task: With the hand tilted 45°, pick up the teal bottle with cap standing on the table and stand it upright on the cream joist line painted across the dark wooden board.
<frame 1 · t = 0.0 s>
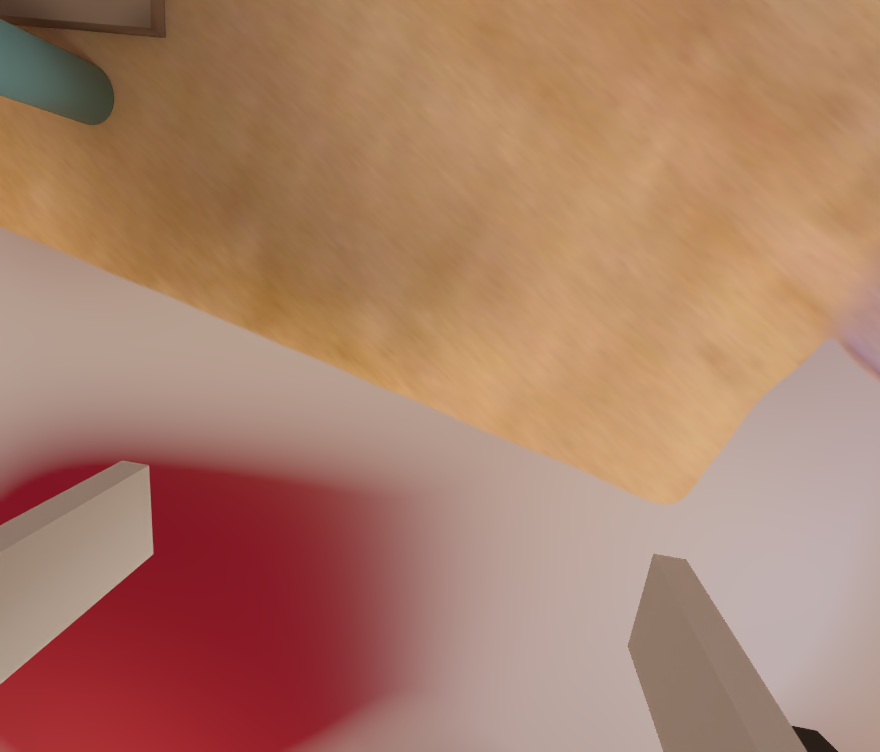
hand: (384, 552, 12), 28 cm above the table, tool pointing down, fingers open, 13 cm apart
teal bottle with cap: (87, 93, 37), on the table
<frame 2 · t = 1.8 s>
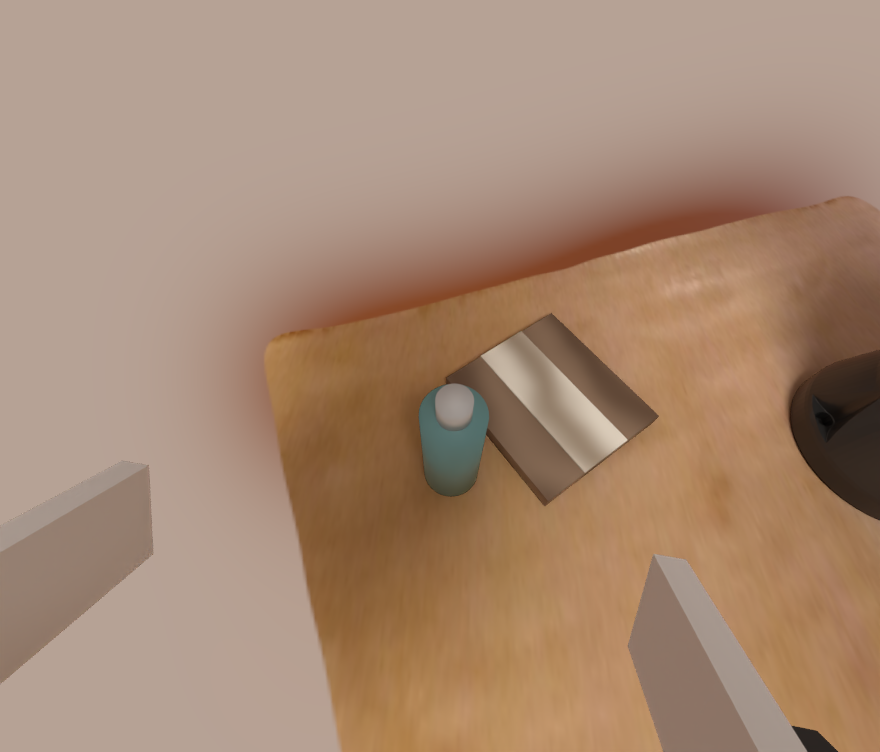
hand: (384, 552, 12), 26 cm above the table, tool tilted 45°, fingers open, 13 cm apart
subfloor board: (546, 403, 42), on the table
teal bottle with cap: (450, 469, 39), on the table
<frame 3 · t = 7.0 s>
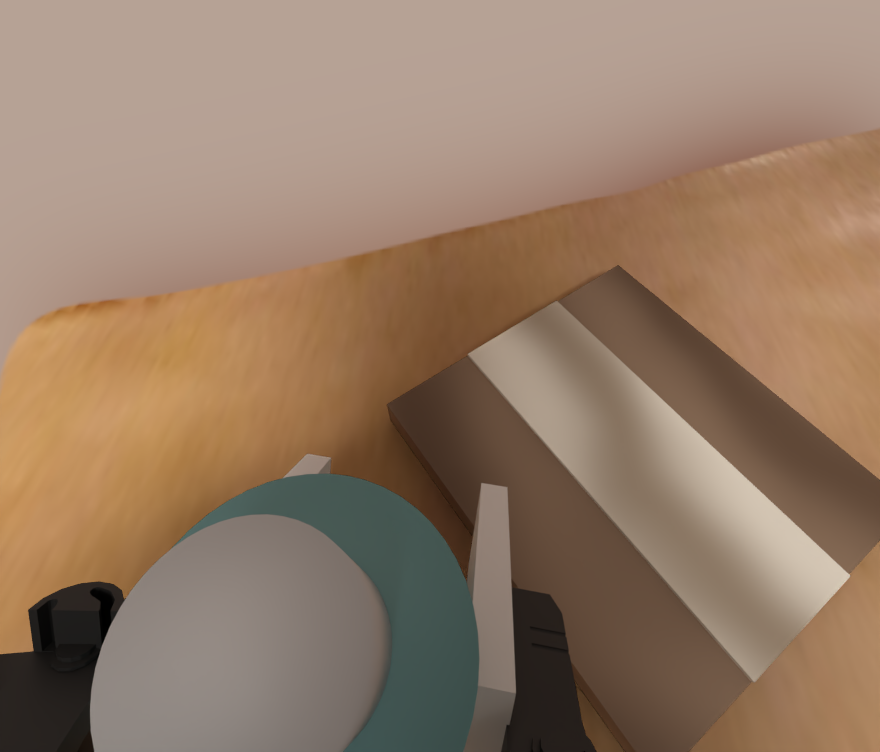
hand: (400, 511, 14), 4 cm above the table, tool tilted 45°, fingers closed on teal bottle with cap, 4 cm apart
subfloor board: (619, 465, 18), on the table
teal bottle with cap: (386, 647, 15), on the table, touching gripper
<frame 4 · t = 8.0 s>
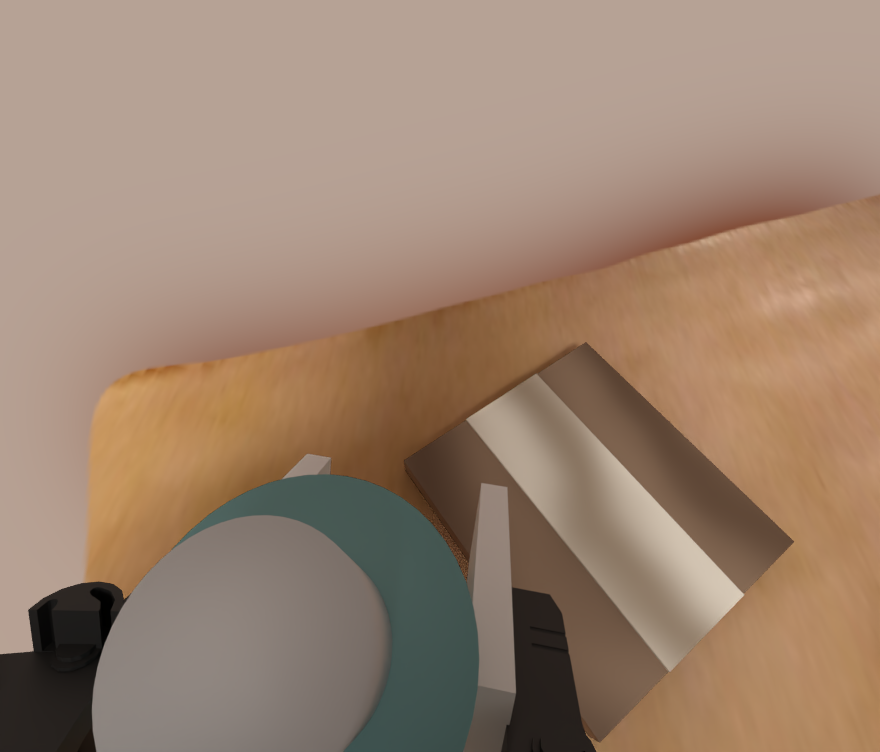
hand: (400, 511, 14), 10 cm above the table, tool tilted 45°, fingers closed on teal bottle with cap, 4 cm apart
subfloor board: (582, 507, 24), on the table
teal bottle with cap: (386, 647, 15), point 6 cm above the table, touching gripper
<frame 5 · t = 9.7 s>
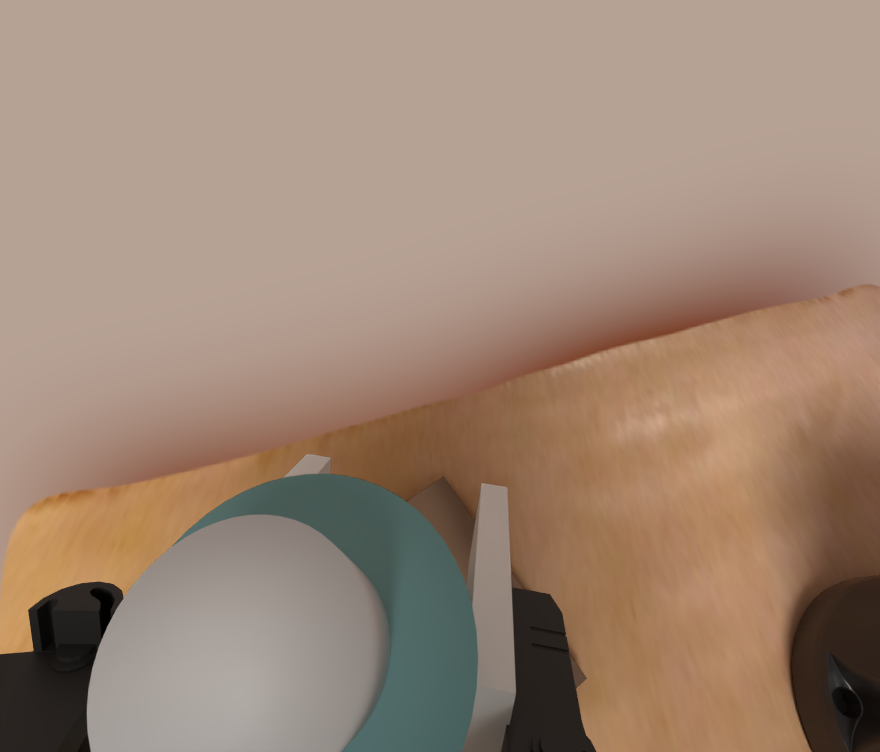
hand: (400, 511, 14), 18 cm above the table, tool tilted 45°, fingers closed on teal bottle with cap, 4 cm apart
subfloor board: (420, 635, 28), on the table
teal bottle with cap: (385, 647, 15), point 14 cm above the table, touching gripper
when the fingers open (7 cm above the table, at t = 12.8 s): teal bottle with cap drops 2 cm, resting on subfloor board.
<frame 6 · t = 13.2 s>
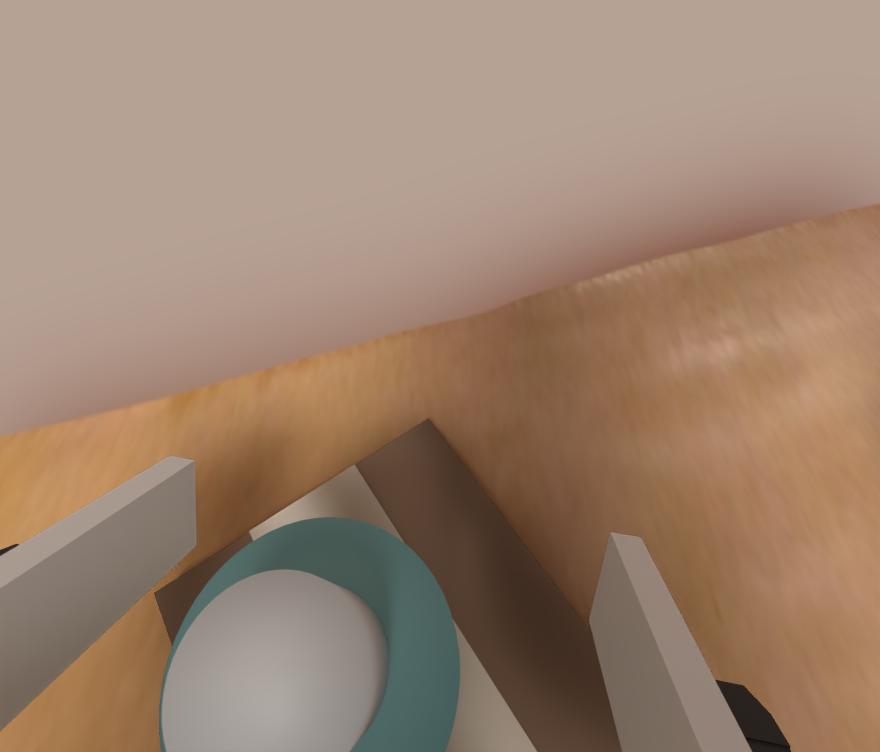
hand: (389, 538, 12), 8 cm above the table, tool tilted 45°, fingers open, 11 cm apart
subfloor board: (394, 651, 18), on the table
teal bottle with cap: (391, 648, 17), point 2 cm above the table, touching subfloor board
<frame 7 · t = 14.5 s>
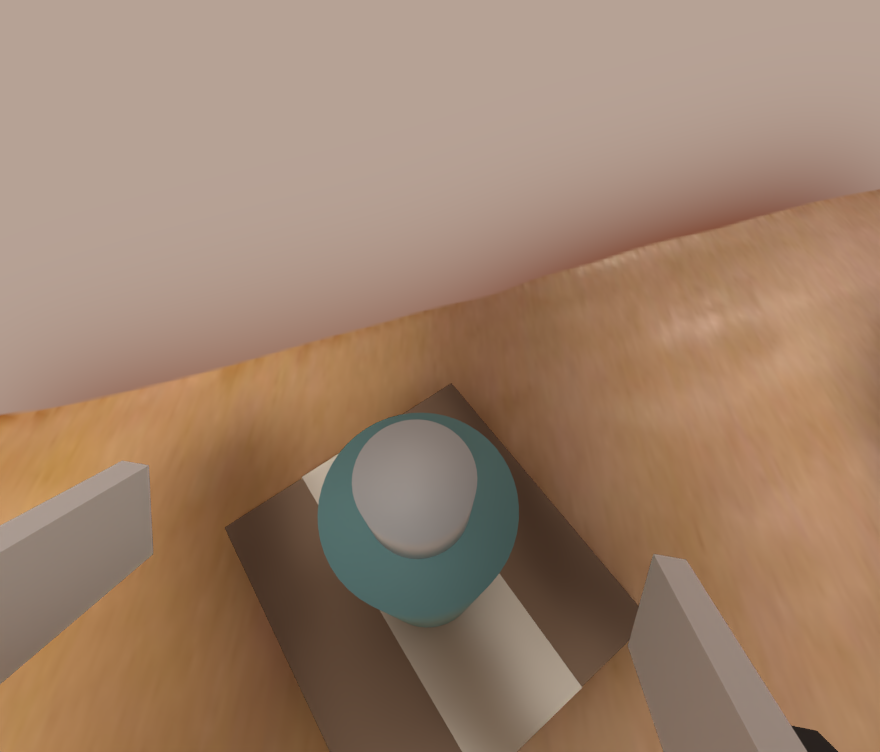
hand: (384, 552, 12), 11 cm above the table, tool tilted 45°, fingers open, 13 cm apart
subfloor board: (428, 575, 21), on the table
teal bottle with cap: (427, 567, 20), point 2 cm above the table, touching subfloor board
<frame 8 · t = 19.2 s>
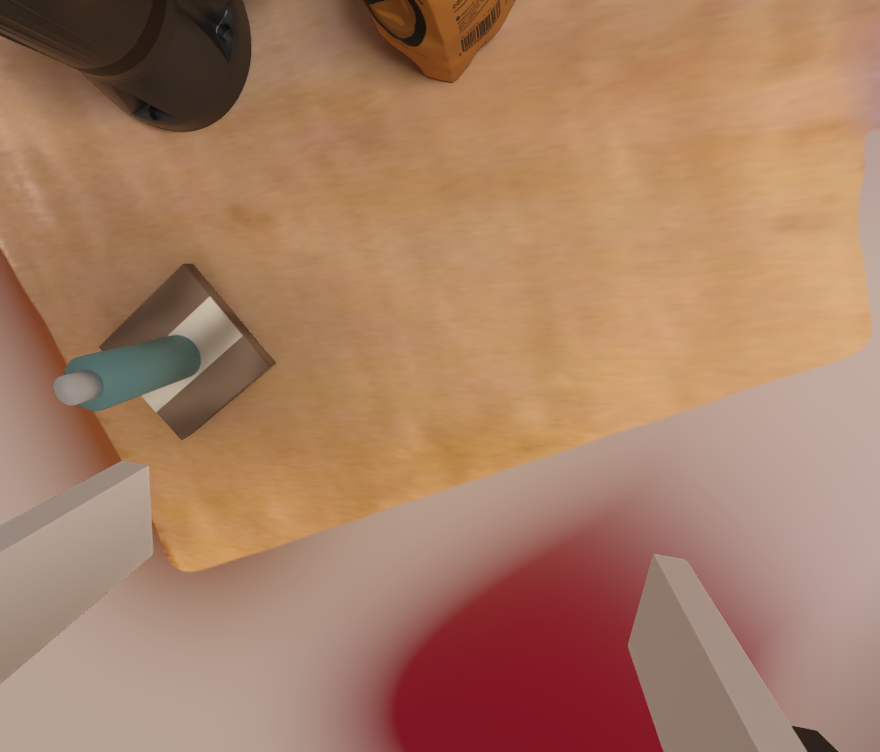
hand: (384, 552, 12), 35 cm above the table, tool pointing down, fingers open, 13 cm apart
subfloor board: (191, 353, 49), on the table
coffee package: (452, 2, 39), on the table
teal bottle with cap: (180, 356, 48), point 2 cm above the table, touching subfloor board
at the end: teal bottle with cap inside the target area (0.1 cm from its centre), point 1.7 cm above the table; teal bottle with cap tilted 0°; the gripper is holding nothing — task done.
